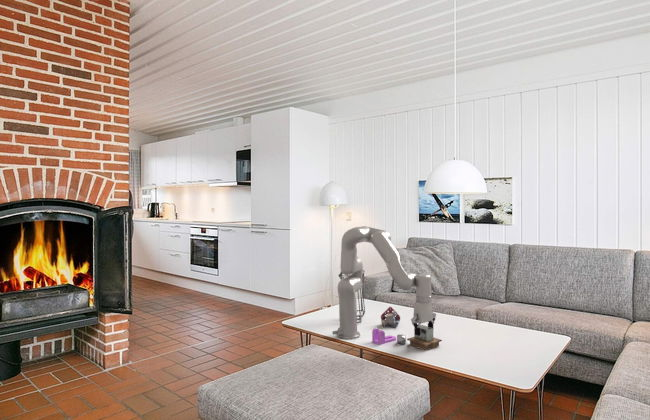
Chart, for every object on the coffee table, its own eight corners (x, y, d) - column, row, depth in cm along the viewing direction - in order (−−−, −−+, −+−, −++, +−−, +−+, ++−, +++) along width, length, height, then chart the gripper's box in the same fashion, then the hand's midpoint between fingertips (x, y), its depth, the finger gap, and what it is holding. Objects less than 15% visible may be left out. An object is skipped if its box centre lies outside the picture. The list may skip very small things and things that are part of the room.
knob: (401, 345, 211) (401, 337, 211) (395, 343, 214) (395, 335, 214) (407, 343, 213) (407, 336, 213) (401, 341, 217) (401, 333, 217)
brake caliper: (400, 318, 251) (400, 305, 244) (400, 334, 243) (399, 321, 236) (381, 318, 254) (380, 305, 247) (380, 333, 245) (379, 320, 238)
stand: (425, 351, 202) (425, 344, 202) (407, 344, 212) (407, 338, 212) (441, 345, 209) (441, 339, 209) (423, 339, 219) (423, 334, 219)
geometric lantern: (366, 324, 248) (363, 266, 248) (339, 324, 251) (337, 266, 250) (367, 317, 264) (365, 262, 263) (342, 317, 266) (340, 262, 266)
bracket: (379, 345, 212) (379, 331, 212) (372, 342, 217) (372, 328, 217) (398, 340, 220) (398, 326, 220) (391, 337, 224) (390, 324, 224)
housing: (413, 338, 213) (413, 326, 213) (420, 336, 216) (420, 324, 216) (427, 342, 206) (426, 330, 206) (433, 340, 209) (433, 328, 208)
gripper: (429, 295, 218) (429, 328, 218) (405, 300, 208) (406, 334, 208) (440, 297, 212) (441, 331, 212) (417, 303, 202) (417, 338, 202)
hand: (424, 333), depth 210 cm, fingers open, 9 cm apart
